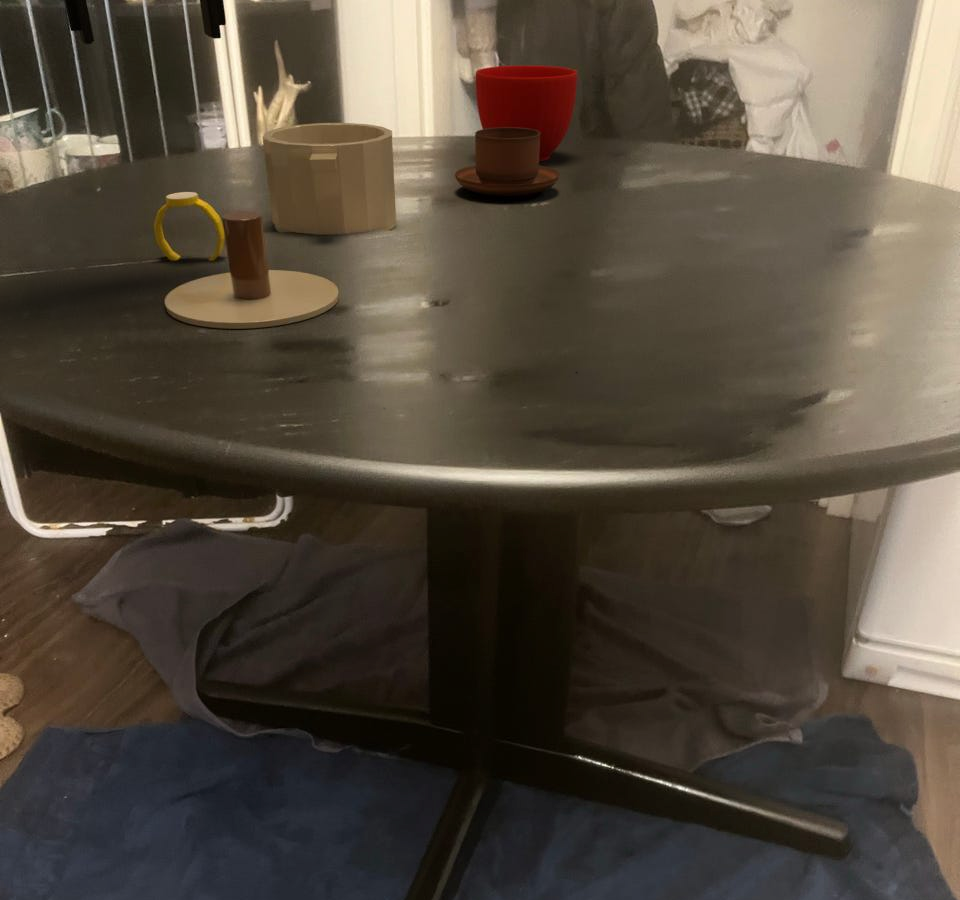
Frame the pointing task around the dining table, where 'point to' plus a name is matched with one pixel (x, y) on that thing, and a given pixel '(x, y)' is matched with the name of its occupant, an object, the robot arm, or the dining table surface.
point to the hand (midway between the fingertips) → (151, 39)
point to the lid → (250, 286)
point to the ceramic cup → (528, 100)
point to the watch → (181, 201)
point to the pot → (331, 178)
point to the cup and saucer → (507, 163)
